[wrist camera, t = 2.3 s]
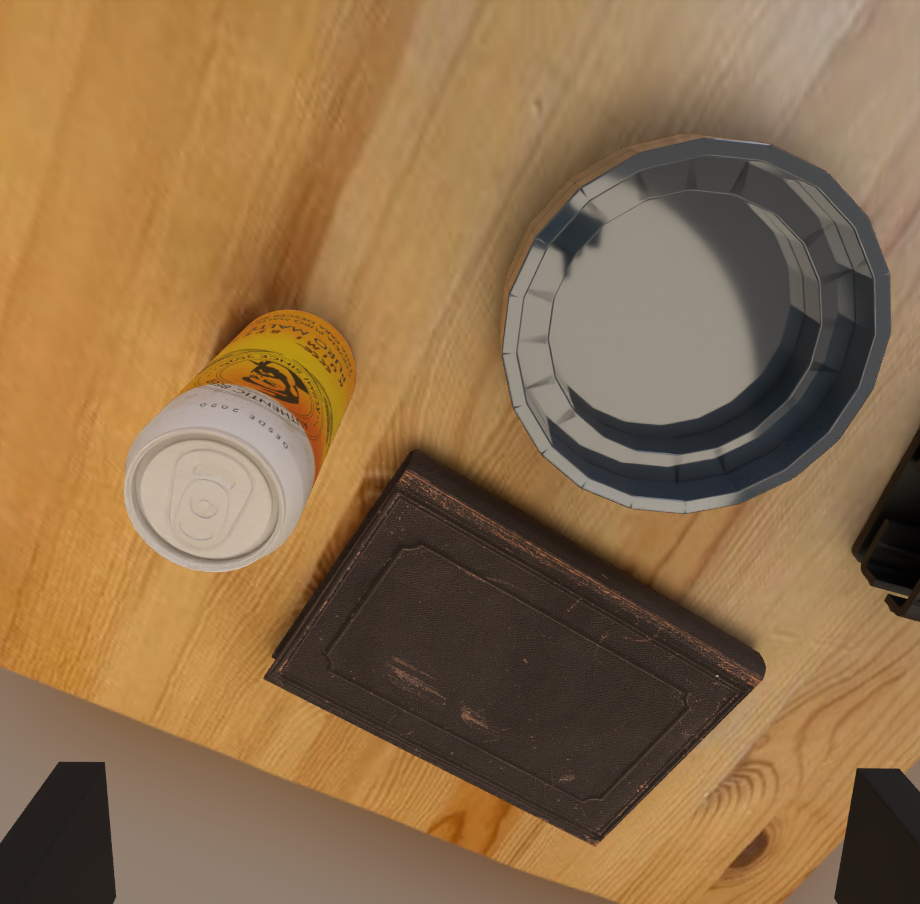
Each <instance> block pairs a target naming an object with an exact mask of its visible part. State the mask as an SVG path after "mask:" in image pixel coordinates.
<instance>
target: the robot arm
mask: <svg viewBox="0 0 920 904" xmlns="http://www.w3.org/2000/svg"><path fill="white" fill-rule="evenodd" d="M115 898H116V891H115V878H114V866H113V855H112V843H111V831H110V819H109V807H108V796H107V784H106V772H105V762H59V763H58V764H57V765H56V767H55V768H54V770H53V771H52V772H51V774H50V775H49V777H48V778H47V779H46V781H45V782H44V783H43V785H42V786H41V788H40V789H39V791H38V792H37V793H36V795H35V796H34V797H33V799H32V800H31V801H30V803H29V804H28V806H27V807H26V808H25V810H24V811H23V812H22V814H21V815H20V817H19V818H18V819H17V821H16V822H15V824H14V825H13V826H12V828H11V829H10V831H9V832H8V833H7V835H6V836H5V837H4V839H3V840H2V842H1V843H0V904H113V902H114V900H115ZM834 898H835V900H836V902H837V903H838V904H920V792H919V790H918V789H917V788H915V786H914V785H913V784H912V783H911V781H910V780H909V779H908V778H907V777H906V776H905V775H904V774H903V773H902V771H901V770H900V769H878V768H857V771H856V776H855V782H854V788H853V794H852V799H851V805H850V811H849V816H848V822H847V828H846V834H845V839H844V845H843V851H842V857H841V862H840V868H839V874H838V880H837V886H836V891H835V897H834Z"/></svg>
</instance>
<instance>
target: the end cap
mask: <svg viewBox="0 0 920 904" xmlns="http://www.w3.org/2000/svg"><path fill="white" fill-rule="evenodd" d="M852 553H853V555H854V557H855V558H856V559H857V561H858V562H860V563H861V572H862V573H863V575H864V576H865V577H866V579H867V580H868V582H869V584H870V586H873V587H877V588H881V589H884V590H888V591H892V592H895V593H899V594H903V595H906V596H909V597H908V599H905V598H902V597H898V596H894V595H891V594H888V595H887V596H886V598H885V600H884V601H885V602H886V603H887V605H888V606H889V609H890V611H891V612H894V613H895V614H896V615H897V616H900V617H904V618H908V619H911V620H915V621H919V622H920V429H919V431H918V433H917V435H916V437H915V438H914V440H913V442H912V444H911V445H910V447H909V449H908V451H907V453H906V454H905V456H904V458H903V460H902V461H901V463H900V465H899V467H898V469H897V470H896V472H895V474H894V476H893V477H892V479H891V481H890V483H889V485H888V486H887V488H886V490H885V492H884V493H883V495H882V497H881V499H880V501H879V502H878V504H877V506H876V508H875V509H874V511H873V513H872V515H871V516H870V518H869V520H868V522H867V524H866V525H865V527H864V529H863V531H862V532H861V534H860V536H859V538H858V540H857V541H856V543H855V545H854V547H853V551H852Z"/></svg>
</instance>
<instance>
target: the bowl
mask: <svg viewBox="0 0 920 904" xmlns="http://www.w3.org/2000/svg"><path fill="white" fill-rule="evenodd" d="M499 330H500V343H501V355H502V360H503V365H504V370H505V374H506V379H507V384H508V389H509V393H510V398H511V403H512V407H513V410H514V411H515V413H516V415H517V416H518V418H519V420H520V421H521V423H522V425H523V426H524V428H525V430H526V431H527V433H528V435H529V436H530V438H531V440H532V441H533V443H534V445H535V446H536V448H537V450H538V451H539V453H540V454H541V455H542V456H543V457H544V458H545V459H547V460H548V461H549V462H550V463H551V464H552V465H554V466H555V467H556V468H557V469H558V470H560V471H561V472H562V473H563V474H564V475H566V476H567V477H568V478H569V479H570V480H571V481H573V482H574V483H575V484H576V485H577V486H579V487H580V488H582V489H584V490H586V491H589V492H591V493H593V494H596V495H598V496H601V497H603V498H606V499H608V500H611V501H613V502H615V503H618V504H620V505H623V506H625V507H628V508H631V509H638V510H648V511H659V512H669V513H680V514H688V513H694V512H699V511H705V510H710V509H716V508H721V507H727V506H732V505H738V504H740V503H743V502H745V501H747V500H749V499H752V498H754V497H756V496H758V495H760V494H762V493H764V492H766V491H768V490H771V489H773V488H775V487H777V486H779V485H781V484H783V483H785V482H787V481H790V480H792V479H793V478H795V477H796V476H797V475H799V474H800V473H801V472H802V471H803V470H804V469H806V468H807V467H808V466H809V465H810V464H811V463H813V462H814V461H815V460H816V459H817V458H819V457H820V456H821V455H822V454H823V453H824V452H826V451H827V450H828V449H829V448H830V447H832V446H833V445H834V444H835V443H836V442H837V441H838V439H840V438H841V436H842V435H843V433H844V432H845V430H846V429H847V427H848V426H849V424H850V423H851V422H852V420H853V419H854V417H855V416H856V414H857V413H858V411H859V410H860V408H861V407H862V405H863V404H864V402H865V401H866V399H867V398H868V396H869V395H870V394H871V392H872V390H873V388H874V385H875V382H876V379H877V376H878V372H879V369H880V366H881V363H882V360H883V357H884V353H885V350H886V347H887V344H888V341H889V338H890V332H891V301H890V273H889V269H888V267H887V264H886V261H885V259H884V256H883V254H882V251H881V248H880V246H879V243H878V240H877V238H876V235H875V233H874V230H873V227H872V225H871V222H870V220H869V218H867V215H866V214H865V213H864V211H863V210H862V209H861V208H860V207H859V206H858V205H857V204H856V203H855V202H854V200H853V199H852V198H851V197H850V196H849V195H848V194H847V193H846V192H845V191H844V189H843V188H842V187H841V186H840V185H839V184H838V183H837V182H836V181H835V180H834V178H833V177H832V176H831V175H830V174H829V173H827V171H825V170H823V169H821V168H819V167H817V166H815V165H813V164H811V163H809V162H807V161H805V160H803V159H801V158H799V157H797V156H795V155H793V154H790V153H788V152H786V151H784V150H782V149H780V148H778V147H776V146H774V145H772V144H768V143H762V142H756V141H750V140H743V139H735V138H726V137H716V136H706V135H697V134H687V133H684V134H677V135H673V136H668V137H664V138H660V139H655V140H651V141H647V142H642V143H638V144H634V145H629V146H625V147H624V148H623V147H622V148H620V149H619V150H617V151H615V152H614V153H612V154H610V155H609V156H607V157H605V158H604V159H602V160H600V161H599V162H597V163H595V164H594V165H592V166H590V167H588V168H587V169H585V170H583V171H582V172H580V173H578V174H577V175H575V176H573V177H572V178H571V179H570V180H568V181H567V183H566V184H565V185H564V186H563V187H562V188H561V189H560V190H559V191H558V193H557V194H556V195H555V196H554V197H553V198H552V199H551V200H550V202H549V203H548V204H547V205H546V206H545V207H544V208H543V209H542V210H541V212H540V213H539V214H538V215H537V216H536V217H535V218H534V219H533V221H532V222H531V223H530V224H529V226H528V228H527V230H526V233H525V235H524V237H523V239H522V241H521V244H520V246H519V248H518V250H517V252H516V255H515V257H514V259H513V261H512V263H511V266H510V268H509V270H508V272H507V274H506V278H505V286H504V294H503V303H502V311H501V320H500V328H499Z"/></svg>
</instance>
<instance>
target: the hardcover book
mask: <svg viewBox="0 0 920 904" xmlns="http://www.w3.org/2000/svg"><path fill="white" fill-rule="evenodd" d="M272 658H274V659H276V660H275V661H274V663H273V664H272V665H271V667H270V668H269V670H268V671H267V673H266V674H265V676H264V678H263V679H265V680H267V681H269V682H271V683H273V684H275V685H277V686H279V687H281V688H283V689H284V690H286V691H288V692H290V693H292V694H294V695H296V696H298V697H300V698H302V699H304V700H306V701H308V702H310V703H312V704H314V705H316V706H318V707H320V708H322V709H324V710H326V711H328V712H330V713H332V714H334V715H336V716H338V717H340V718H342V719H344V720H346V721H348V722H350V723H352V724H354V725H356V726H358V727H360V728H362V729H364V730H366V731H368V732H370V733H371V734H373V735H375V736H377V737H379V738H381V739H383V740H385V741H387V742H389V743H391V744H393V745H395V746H397V747H399V748H401V749H403V750H405V751H407V752H409V753H411V754H413V755H415V756H417V757H419V758H421V759H423V760H425V761H427V762H429V763H431V764H433V765H435V766H437V767H439V768H441V769H443V770H445V771H447V772H449V773H451V774H453V775H455V776H456V777H458V778H460V779H462V780H464V781H466V782H468V783H470V784H472V785H474V786H476V787H478V788H480V789H482V790H484V791H486V792H488V793H490V794H492V795H494V796H496V797H498V798H500V799H502V800H504V801H506V802H508V803H510V804H512V805H514V806H516V807H518V808H520V809H522V810H524V811H526V812H528V813H530V814H532V815H534V816H536V817H538V818H540V819H542V820H543V821H545V822H547V823H549V824H551V825H553V826H555V827H557V828H559V829H561V830H563V831H565V832H567V833H569V834H571V835H573V836H575V837H577V838H579V839H581V840H583V841H585V842H587V843H589V844H591V845H593V846H596V845H597V844H599V843H600V842H601V841H602V840H603V839H604V838H605V837H606V836H607V835H608V834H609V833H610V832H611V831H612V830H613V829H614V828H615V827H616V826H617V825H618V824H619V823H620V822H621V821H622V820H623V819H624V818H625V817H626V816H627V815H628V814H629V813H630V812H631V811H632V810H633V809H634V808H635V807H636V806H637V805H638V804H639V803H640V802H641V801H642V800H643V799H644V798H645V797H646V796H647V795H648V794H649V793H650V792H651V791H652V790H653V789H654V788H655V787H656V786H657V785H658V784H659V783H660V782H661V781H662V780H663V779H664V778H665V777H666V776H667V775H668V774H669V773H670V772H671V771H672V770H673V769H674V768H675V767H676V766H677V765H678V764H679V763H680V762H681V761H682V760H683V759H684V758H685V757H686V756H687V755H688V754H689V753H690V752H691V751H692V750H693V749H694V748H695V747H696V746H697V745H698V744H699V743H700V742H701V741H702V740H703V739H704V738H705V737H706V736H707V735H708V734H709V733H710V732H711V731H712V730H713V729H714V728H715V727H716V726H717V725H718V724H719V723H720V722H721V721H722V720H723V719H724V718H725V717H726V716H727V715H728V714H729V713H730V712H731V711H732V710H733V709H734V708H735V707H736V706H737V705H738V704H739V703H740V702H741V701H742V700H743V699H744V698H745V697H746V696H747V695H748V694H749V693H750V692H751V691H752V690H753V689H754V688H755V687H756V686H757V685H758V684H759V683H760V682H761V681H762V680H763V677H764V675H765V671H766V665H765V663H764V660H763V658H762V656H761V655H760V653H759V652H757V651H755V650H754V649H752V648H750V647H748V646H747V645H745V644H743V643H742V642H740V641H738V640H737V639H735V638H733V637H732V636H730V635H728V634H727V633H725V632H723V631H722V630H720V629H718V628H716V627H715V626H713V625H711V624H710V623H708V622H706V621H705V620H703V619H701V618H700V617H698V616H696V615H695V614H693V613H691V612H690V611H688V610H686V609H685V608H683V607H681V606H679V605H678V604H676V603H674V602H673V601H671V600H669V599H668V598H666V597H664V596H663V595H661V594H659V593H658V592H656V591H654V590H653V589H651V588H649V587H647V586H646V585H644V584H642V583H641V582H639V581H637V580H636V579H634V578H632V577H631V576H629V575H627V574H626V573H624V572H622V571H621V570H619V569H617V568H616V567H614V566H612V565H610V564H609V563H607V562H605V561H604V560H602V559H600V558H599V557H597V556H595V555H594V554H592V553H590V552H589V551H587V550H585V549H584V548H582V547H580V546H578V545H577V544H575V543H573V542H572V541H570V540H568V539H567V538H565V537H563V536H562V535H560V534H558V533H557V532H555V531H553V530H552V529H550V528H548V527H547V526H545V525H543V524H541V523H540V522H538V521H536V520H535V519H533V518H531V517H530V516H528V515H526V514H525V513H523V512H521V511H520V510H518V509H516V508H515V507H513V506H511V505H509V504H508V503H506V502H504V501H503V500H501V499H499V498H498V497H496V496H494V495H493V494H491V493H489V492H488V491H486V490H484V489H483V488H481V487H479V486H478V485H476V484H474V483H472V482H471V481H469V480H467V479H466V478H464V477H462V476H461V475H459V474H457V473H456V472H454V471H452V470H451V469H449V468H447V467H446V466H444V465H442V464H440V463H439V462H437V461H435V460H434V459H432V458H430V457H429V456H427V455H425V454H424V453H422V452H420V451H419V450H417V449H414V450H412V451H411V452H410V453H409V455H408V456H407V458H406V459H405V461H404V462H403V463H402V465H401V466H400V468H399V469H398V471H397V472H396V474H395V475H394V477H393V478H392V480H391V481H390V483H389V484H388V485H387V487H386V488H385V490H384V491H383V493H382V494H381V496H380V497H379V499H378V500H377V502H376V503H375V505H374V506H373V508H372V509H371V510H370V512H369V513H368V515H367V516H366V518H365V519H364V521H363V522H362V524H361V525H360V527H359V528H358V530H357V531H356V532H355V534H354V535H353V537H352V538H351V540H350V541H349V543H348V544H347V546H346V547H345V549H344V550H343V552H342V553H341V555H340V556H339V557H338V559H337V560H336V562H335V563H334V565H333V566H332V568H331V569H330V571H329V572H328V574H327V575H326V577H325V578H324V579H323V581H322V582H321V584H320V585H319V587H318V588H317V590H316V591H315V593H314V594H313V596H312V597H311V599H310V600H309V602H308V603H307V604H306V606H305V607H304V609H303V610H302V612H301V613H300V615H299V616H298V618H297V619H296V621H295V622H294V624H293V625H292V626H291V628H290V629H289V631H288V632H287V634H286V635H285V637H284V638H283V640H282V641H281V643H280V644H279V646H278V647H277V649H276V650H275V651H274V653H273V654H272Z"/></svg>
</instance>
